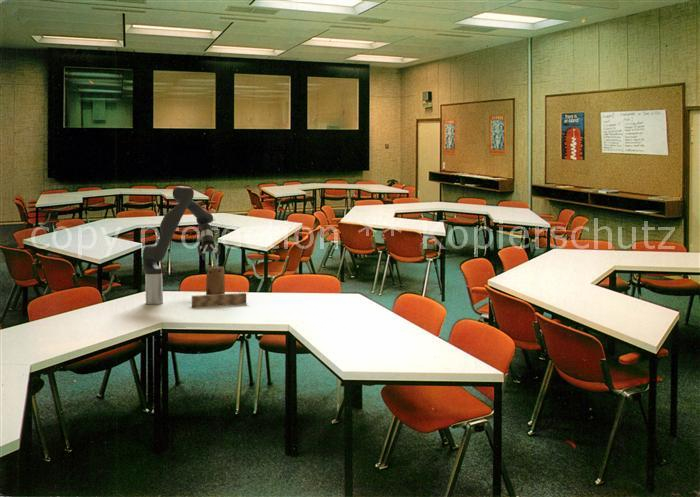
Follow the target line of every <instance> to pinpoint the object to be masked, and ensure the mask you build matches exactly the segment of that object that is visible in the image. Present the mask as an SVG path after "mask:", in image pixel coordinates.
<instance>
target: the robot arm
mask: <svg viewBox="0 0 700 497" xmlns="http://www.w3.org/2000/svg"><path fill="white" fill-rule="evenodd" d="M194 195H195V191H194V189H193V188H192V187H191V186H190V187H189V186H182V185H178V186H175V187H174V188H173V190H172V197H173V199H174V200H175V201H176V202H177V204H176V205H175V206H174V207H173V208H171V209H170V210H168V212H166V213H165V215H164V216H163V217H162V219H161V222H160V224H159V225H160V226H159V231H160V238H159V240H158V242H157V244H154V245H153V244H147V245H146V246H144V248H143V251H142V263H143V264H142V266H143V270H144V273H145V277H144V278H145V287H144V289H145V304H146V305H160V304H163V303H164V301H163V300H164V296H163V295H164V294H163V293H164V291H163V290H164V289H163V268H162V267H161V266H160V265H158V264H157V262H162V261H163V260H164V258H165V256H166V254H167V251H168V249H169V246H170V243H171V241H172V238H173V236H174V234H175V232H176V231H177V228H178V226H179V224H180V223H181V219H182V217H183V216H184V214H185V212H186V210H188V211H189V212H190V213H191V214H192V215H193V216H194V217H195V219H196V223H197V225H198V226H199V229H200V241H201V245H199V244H198V245H197V252H198V255H199V256H202V260H203V261H206V253H212V254H214V260H215V261H217V260H218V255H220V254H221V245H220V244H218V245H216V244H215V239H214V233H213V228H212V225H211V223H212V222H213V221H214V216H213V214H212V213H211V212H209V211H208V210H206V209H204V208H203V207H202V206H201V205H200V204H199V203H198V202H197V201H194V200H193V199H194ZM202 250H203V251H202Z"/></svg>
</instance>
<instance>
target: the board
mask: <svg viewBox="0 0 700 497" xmlns="http://www.w3.org/2000/svg"><path fill="white" fill-rule="evenodd" d="M234 305H247V293H246V292H236V293H234V292H233V293H232V292H231V293H225V294H213V295H206V294H198V295H195V294H194V295H191V307H192V308H201V307H202V308H203V307H217V306H218V307H219V306H234Z"/></svg>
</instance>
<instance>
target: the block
mask: <svg viewBox="0 0 700 497" xmlns="http://www.w3.org/2000/svg"><path fill="white" fill-rule="evenodd" d="M206 271H207V272H206V278H205V281H206V282H205V295H213V294H226V280H225V279H226V277H225V276H226V274H225V267H224V266H217V265H215V266H210V267H209V268H208V269H207V270H206Z"/></svg>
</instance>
